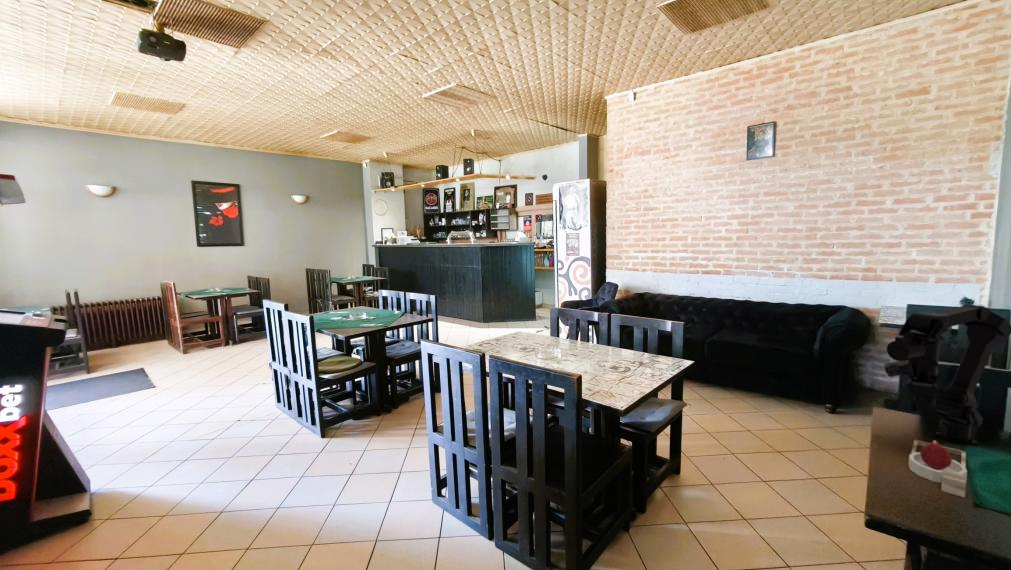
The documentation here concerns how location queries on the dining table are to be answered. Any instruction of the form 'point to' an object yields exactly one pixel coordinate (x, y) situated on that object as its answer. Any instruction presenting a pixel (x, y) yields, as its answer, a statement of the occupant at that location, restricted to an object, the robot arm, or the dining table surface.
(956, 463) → the bowl
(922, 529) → the dining table surface
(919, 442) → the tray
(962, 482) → the maple block
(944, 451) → the onion
